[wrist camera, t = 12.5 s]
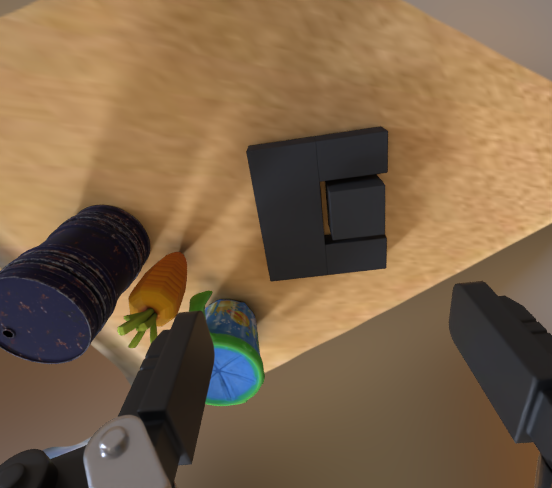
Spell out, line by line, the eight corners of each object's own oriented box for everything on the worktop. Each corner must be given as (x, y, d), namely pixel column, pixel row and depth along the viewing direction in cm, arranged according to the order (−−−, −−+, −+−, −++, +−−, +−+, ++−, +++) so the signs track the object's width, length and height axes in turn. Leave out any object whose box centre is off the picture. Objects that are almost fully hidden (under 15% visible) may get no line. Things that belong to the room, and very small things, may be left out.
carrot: (205, 265, 43) (172, 355, 30) (170, 274, 44) (123, 365, 31) (190, 232, 41) (147, 314, 28) (153, 242, 42) (94, 326, 29)
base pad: (248, 145, 36) (246, 151, 34) (381, 126, 35) (388, 130, 33) (271, 270, 44) (270, 281, 41) (381, 257, 42) (386, 268, 40)
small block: (324, 179, 38) (329, 192, 34) (375, 173, 37) (385, 184, 34) (328, 224, 40) (332, 240, 37) (375, 218, 40) (384, 234, 36)
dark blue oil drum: (119, 190, 39) (7, 281, 23) (166, 258, 43) (99, 374, 27) (52, 222, 41) (-93, 326, 25) (103, 284, 45) (7, 405, 29)
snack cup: (175, 278, 44) (148, 333, 35) (252, 265, 43) (245, 318, 34) (209, 361, 52) (194, 424, 43) (277, 352, 51) (276, 414, 42)
